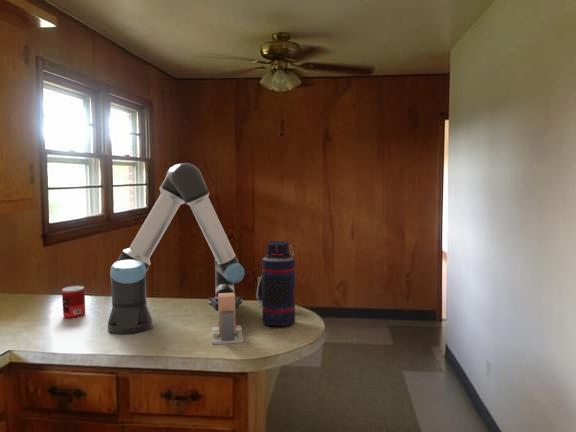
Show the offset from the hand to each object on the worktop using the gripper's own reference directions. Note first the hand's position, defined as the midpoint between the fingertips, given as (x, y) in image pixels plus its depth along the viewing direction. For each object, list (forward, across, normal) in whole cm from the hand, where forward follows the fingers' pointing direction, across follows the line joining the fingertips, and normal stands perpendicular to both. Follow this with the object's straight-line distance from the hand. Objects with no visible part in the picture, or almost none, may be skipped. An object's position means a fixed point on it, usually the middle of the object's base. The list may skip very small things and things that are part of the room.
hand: (226, 312), depth 159 cm
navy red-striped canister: (-8, -19, -7) cm, 22 cm away
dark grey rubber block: (+9, 0, -7) cm, 11 cm away
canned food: (-30, +58, -7) cm, 66 cm away
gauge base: (+3, 0, -7) cm, 7 cm away
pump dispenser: (-30, -18, -7) cm, 36 cm away
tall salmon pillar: (+3, 0, -6) cm, 7 cm away
